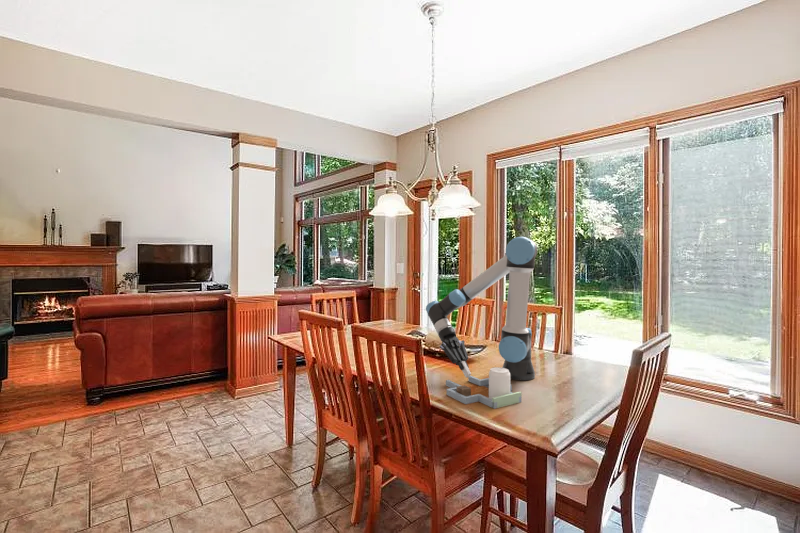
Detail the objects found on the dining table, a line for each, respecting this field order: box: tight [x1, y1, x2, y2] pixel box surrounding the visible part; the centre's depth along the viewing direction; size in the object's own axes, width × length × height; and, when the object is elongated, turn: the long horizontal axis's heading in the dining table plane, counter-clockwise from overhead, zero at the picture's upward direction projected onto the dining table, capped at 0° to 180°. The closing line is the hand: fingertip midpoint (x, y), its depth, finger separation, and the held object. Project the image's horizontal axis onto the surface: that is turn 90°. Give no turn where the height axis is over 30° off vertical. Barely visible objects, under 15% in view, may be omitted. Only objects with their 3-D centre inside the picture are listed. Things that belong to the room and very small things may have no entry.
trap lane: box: [445, 375, 522, 409], centre depth 161 cm, size 30×27×2 cm
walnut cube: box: [457, 384, 472, 396], centre depth 156 cm, size 4×4×4 cm
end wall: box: [491, 391, 523, 409], centre depth 148 cm, size 1×14×4 cm, turn 120°
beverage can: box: [488, 366, 511, 399], centre depth 154 cm, size 8×8×12 cm
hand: (468, 375), depth 168 cm, fingers closed
